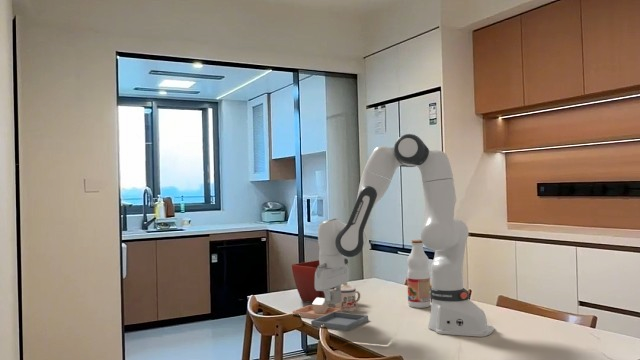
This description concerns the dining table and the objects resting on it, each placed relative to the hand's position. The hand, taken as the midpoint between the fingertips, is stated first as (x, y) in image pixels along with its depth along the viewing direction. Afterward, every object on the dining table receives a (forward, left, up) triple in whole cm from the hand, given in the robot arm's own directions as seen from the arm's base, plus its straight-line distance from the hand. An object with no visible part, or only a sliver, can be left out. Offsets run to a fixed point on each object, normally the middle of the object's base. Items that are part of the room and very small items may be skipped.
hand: (333, 298), depth 196 cm
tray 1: (+12, -8, -9) cm, 17 cm away
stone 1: (+12, -11, -8) cm, 18 cm away
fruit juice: (-18, -42, -10) cm, 46 cm away
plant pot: (+26, -33, -10) cm, 43 cm away
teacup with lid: (+6, -23, -10) cm, 25 cm away
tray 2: (-3, 0, -9) cm, 10 cm away
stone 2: (0, 0, -1) cm, 1 cm away
